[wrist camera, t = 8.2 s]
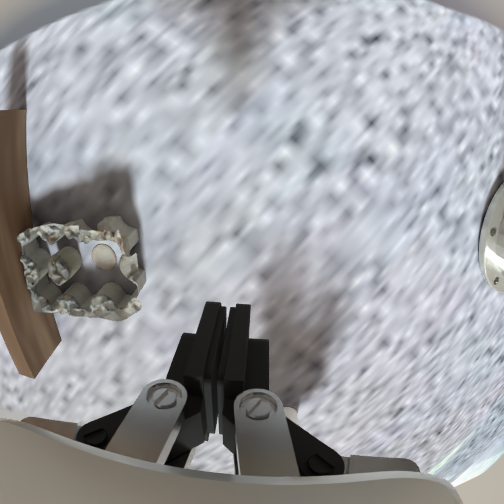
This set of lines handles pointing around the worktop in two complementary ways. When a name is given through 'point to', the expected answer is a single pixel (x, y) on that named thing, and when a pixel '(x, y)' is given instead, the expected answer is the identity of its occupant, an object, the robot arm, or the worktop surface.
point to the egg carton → (69, 262)
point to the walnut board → (9, 252)
